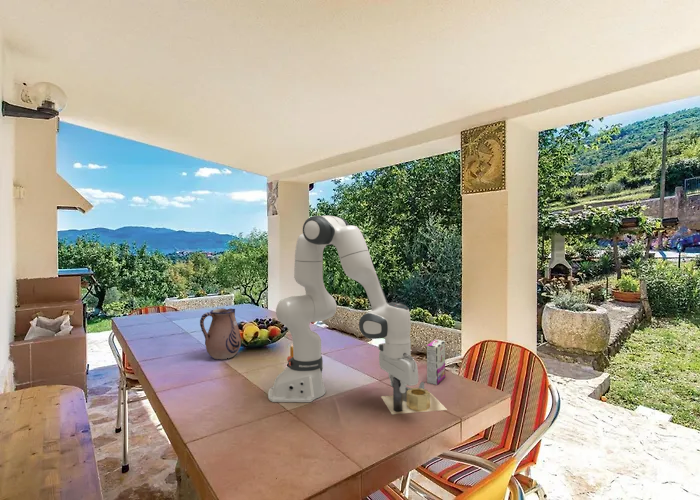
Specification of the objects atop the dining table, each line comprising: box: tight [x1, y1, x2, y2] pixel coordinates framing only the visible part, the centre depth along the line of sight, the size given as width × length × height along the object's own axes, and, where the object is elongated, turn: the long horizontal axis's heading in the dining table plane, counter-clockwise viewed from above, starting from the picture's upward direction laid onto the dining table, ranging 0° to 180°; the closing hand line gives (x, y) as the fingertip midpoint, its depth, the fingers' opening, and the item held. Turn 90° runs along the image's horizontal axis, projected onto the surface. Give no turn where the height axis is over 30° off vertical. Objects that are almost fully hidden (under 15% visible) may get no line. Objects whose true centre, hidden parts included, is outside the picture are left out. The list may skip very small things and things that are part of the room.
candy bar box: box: [426, 339, 446, 386], centre depth 160 cm, size 11×5×16 cm, turn 148°
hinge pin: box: [392, 377, 403, 412], centre depth 128 cm, size 3×3×11 cm
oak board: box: [380, 392, 448, 415], centre depth 133 cm, size 20×15×2 cm
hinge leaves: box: [403, 381, 431, 411], centre depth 133 cm, size 11×13×5 cm
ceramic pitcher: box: [199, 307, 242, 360], centre depth 191 cm, size 18×21×25 cm
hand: (397, 389), depth 128 cm, fingers open, 4 cm apart
